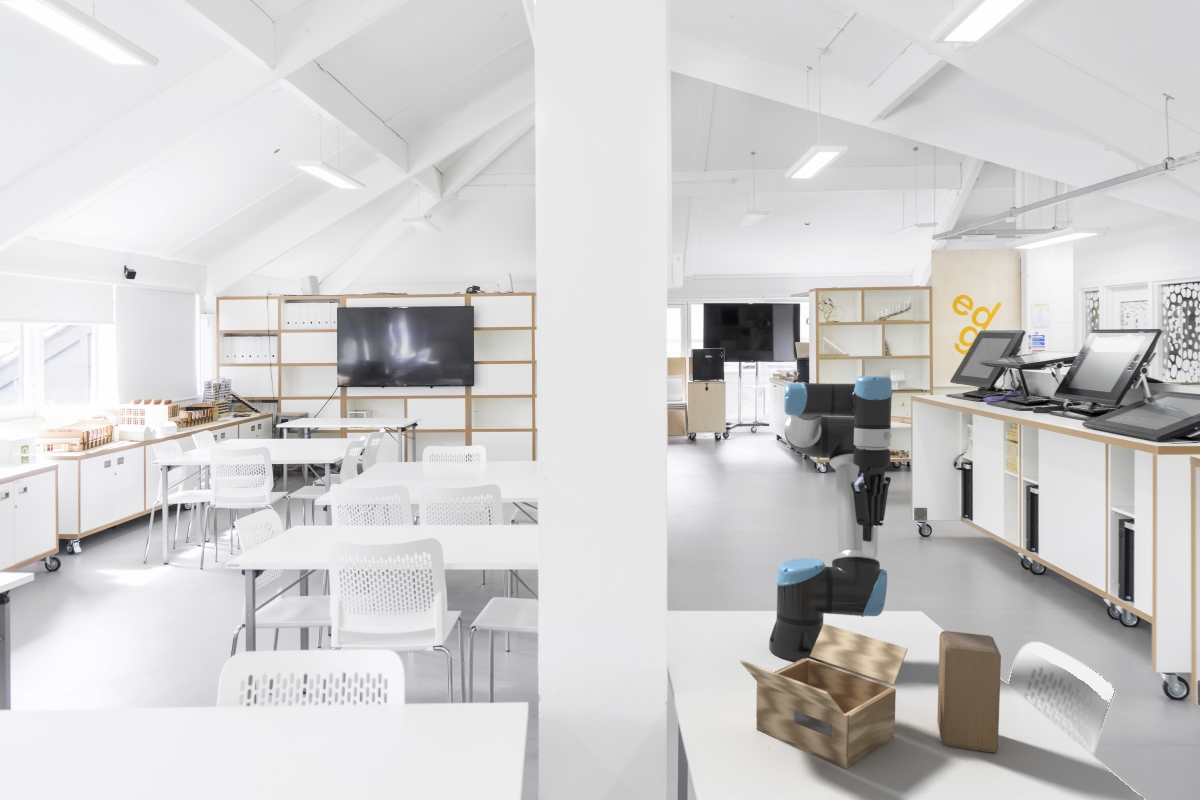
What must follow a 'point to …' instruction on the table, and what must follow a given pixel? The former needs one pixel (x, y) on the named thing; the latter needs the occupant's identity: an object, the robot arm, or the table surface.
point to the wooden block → (969, 691)
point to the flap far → (859, 653)
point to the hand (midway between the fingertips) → (869, 555)
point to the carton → (829, 713)
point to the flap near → (792, 687)
